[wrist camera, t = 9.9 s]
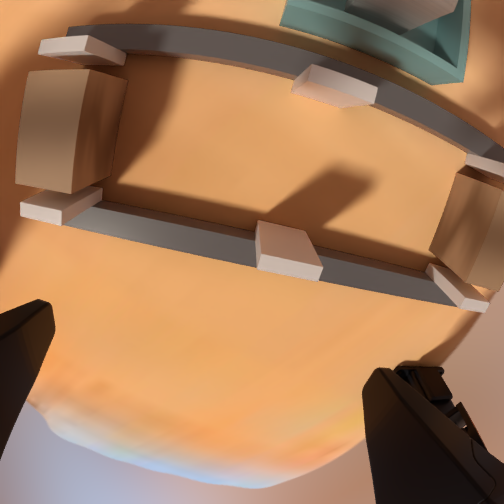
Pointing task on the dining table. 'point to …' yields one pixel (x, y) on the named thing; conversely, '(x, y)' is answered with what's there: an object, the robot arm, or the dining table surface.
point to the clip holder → (266, 234)
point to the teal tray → (391, 38)
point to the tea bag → (400, 12)
